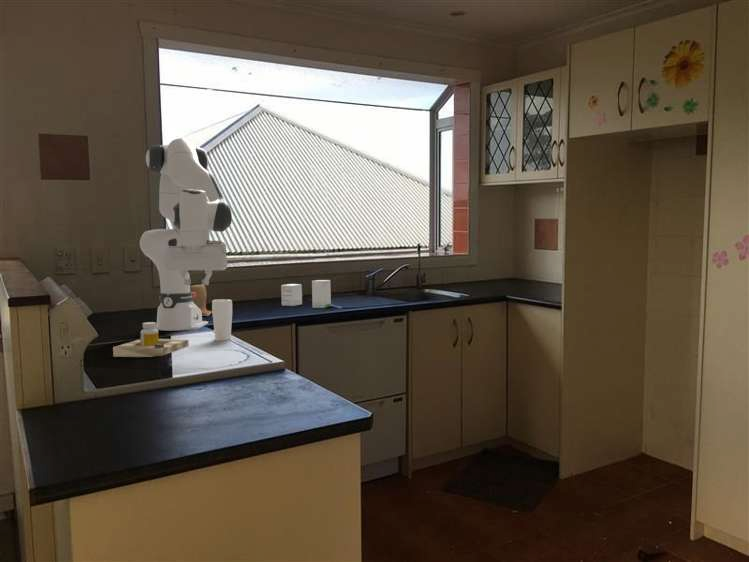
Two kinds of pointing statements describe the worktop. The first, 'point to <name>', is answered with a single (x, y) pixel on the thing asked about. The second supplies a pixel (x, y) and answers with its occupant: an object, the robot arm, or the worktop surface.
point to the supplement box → (291, 294)
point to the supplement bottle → (149, 334)
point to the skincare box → (321, 293)
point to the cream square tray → (149, 348)
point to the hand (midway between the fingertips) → (196, 284)
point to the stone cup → (200, 298)
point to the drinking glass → (222, 318)
